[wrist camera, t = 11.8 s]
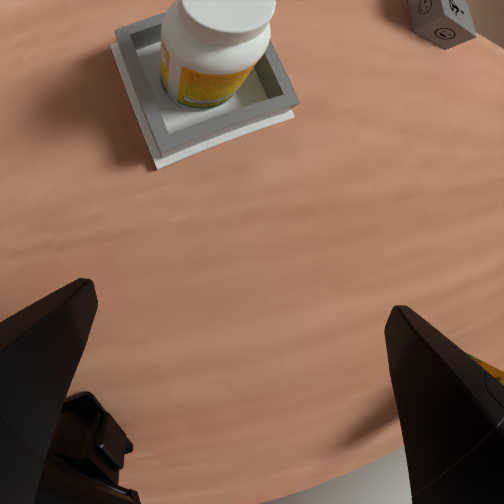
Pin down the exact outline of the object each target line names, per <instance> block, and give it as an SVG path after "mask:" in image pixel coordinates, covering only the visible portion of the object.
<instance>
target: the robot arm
mask: <svg viewBox="0 0 504 504" xmlns="http://www.w3.org/2000/svg"><path fill="white" fill-rule="evenodd" d="M97 308H98V300H97V295H96V291H95V287H94V283H93V281H92V280H91V279H85V278H79V279H77V280H75V281H73V282H71V283H69V284H67V285H66V286H64V287H62V288H60V289H58V290H56V291H55V292H53V293H51V294H49V295H47V296H45V297H44V298H42V299H40V300H38V301H36V302H35V303H33V304H31V305H29V306H28V307H26V308H24V309H22V310H21V311H19V312H17V313H15V314H14V315H12V316H10V317H8V318H7V319H5V320H3V321H2V322H0V504H141V502H140V499H139V496H138V492H137V491H135V490H132V489H126V488H124V487H121V486H119V485H118V481H119V470H120V469H123V466H124V455H125V454H128V453H131V452H132V451H133V444H132V443H131V442H130V441H129V439H128V438H127V437H126V434H125V432H124V431H123V430H122V429H121V427H120V426H119V425H118V424H117V422H116V421H115V420H114V419H113V417H112V416H111V415H110V414H109V413H108V412H106V411H105V410H104V408H103V407H102V406H101V404H100V403H99V402H98V400H97V399H96V398H95V396H94V395H93V394H92V393H90V392H85V393H82V394H80V395H77V396H74V397H72V398H69V399H67V400H65V398H66V395H67V392H68V390H69V387H70V384H71V382H72V379H73V377H74V374H75V371H76V369H77V366H78V364H79V362H80V359H81V357H82V354H83V352H84V349H85V346H86V343H87V340H88V336H89V333H90V330H91V327H92V324H93V320H94V317H95V314H96V311H97ZM384 333H385V340H386V347H387V355H388V363H389V371H390V377H391V382H392V386H393V391H394V395H395V400H396V405H397V410H398V415H399V420H400V425H401V430H402V436H403V441H404V447H405V453H406V459H407V466H408V473H409V480H410V487H411V495H412V504H504V385H503V384H502V383H500V382H499V381H498V380H497V379H496V378H494V377H493V376H492V375H491V374H490V373H489V372H488V371H486V370H484V368H483V367H482V366H480V365H479V364H478V363H477V362H476V361H475V360H473V359H472V358H471V357H470V356H469V355H467V354H466V353H465V352H464V351H463V350H461V349H460V348H459V347H458V346H457V345H455V344H454V343H453V342H452V341H450V340H449V339H448V338H447V337H446V336H444V335H443V334H442V333H441V332H439V331H438V330H437V329H436V328H434V327H433V326H432V325H431V324H429V323H428V322H427V321H426V320H424V319H423V318H422V317H421V316H419V315H418V314H417V313H416V312H414V311H413V310H412V309H411V308H409V307H408V306H405V305H396V306H394V307H393V309H392V311H391V313H390V316H389V318H388V320H387V323H386V325H385V330H384ZM86 397H88V398H90V399H91V400H88V399H87V398H86ZM127 447H129V448H127Z"/></svg>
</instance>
